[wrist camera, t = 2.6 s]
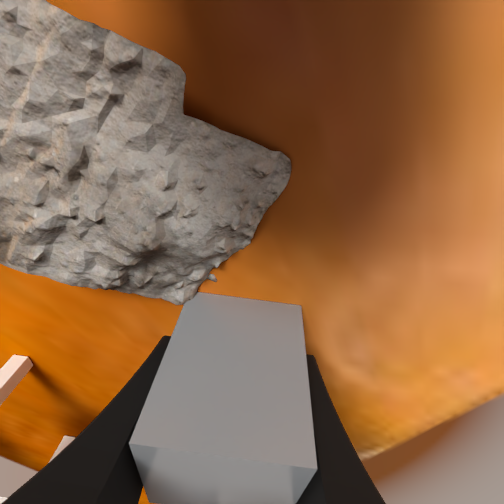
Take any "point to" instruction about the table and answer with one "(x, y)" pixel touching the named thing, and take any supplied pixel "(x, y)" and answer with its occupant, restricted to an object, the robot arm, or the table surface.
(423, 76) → the table surface
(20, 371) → the miniature coffee table
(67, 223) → the stone fragment
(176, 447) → the stone block
